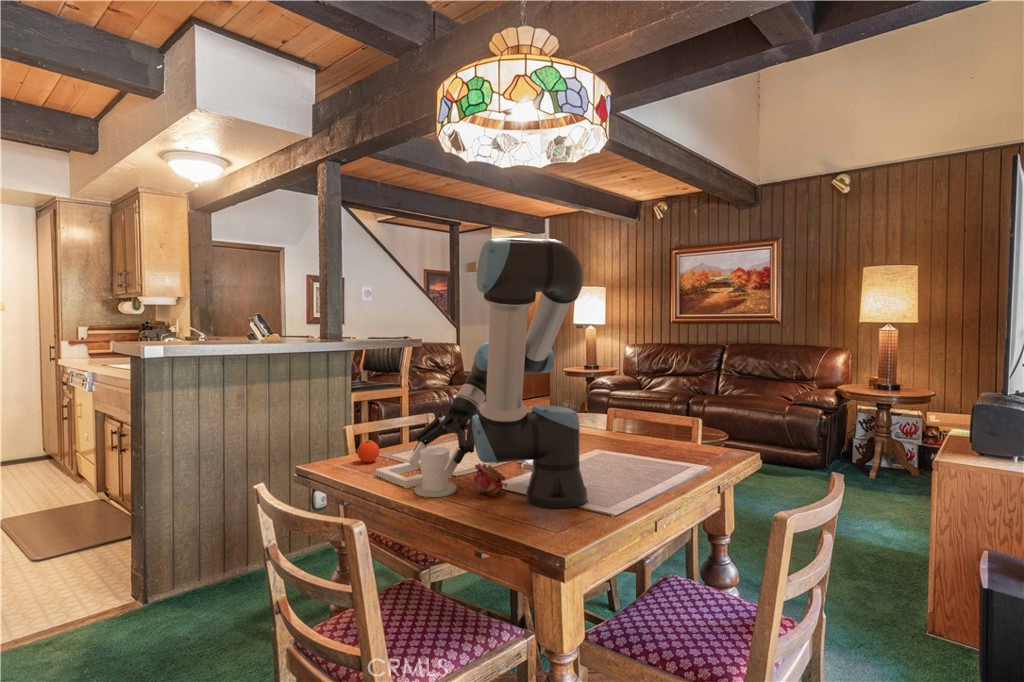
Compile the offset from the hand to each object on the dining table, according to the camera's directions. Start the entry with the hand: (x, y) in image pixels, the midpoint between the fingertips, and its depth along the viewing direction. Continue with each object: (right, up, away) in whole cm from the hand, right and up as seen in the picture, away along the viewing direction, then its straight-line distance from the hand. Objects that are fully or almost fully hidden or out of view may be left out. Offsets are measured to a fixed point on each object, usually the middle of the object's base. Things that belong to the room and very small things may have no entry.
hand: (428, 468), depth 144 cm
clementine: (-24, -6, +34) cm, 42 cm away
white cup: (+2, -6, +2) cm, 6 cm away
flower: (+16, -6, -1) cm, 18 cm away
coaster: (+2, -6, +2) cm, 7 cm away
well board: (-7, -6, +16) cm, 18 cm away
